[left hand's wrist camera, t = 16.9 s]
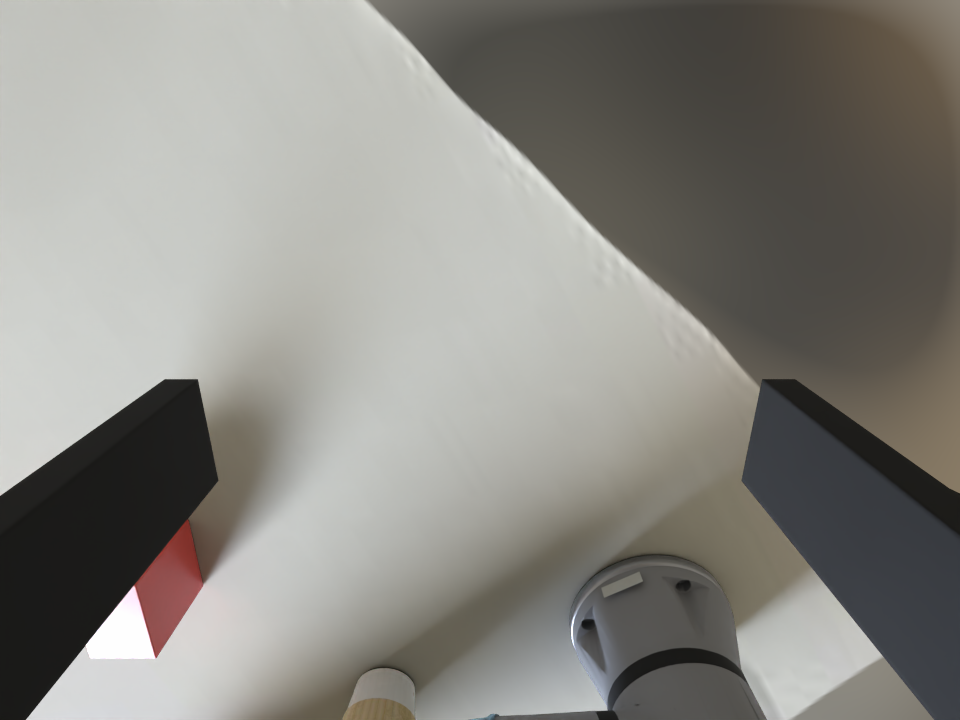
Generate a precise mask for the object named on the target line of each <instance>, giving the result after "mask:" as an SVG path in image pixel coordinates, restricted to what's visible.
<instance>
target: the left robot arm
mask: <svg viewBox="0 0 960 720" xmlns="http://www.w3.org/2000/svg"><path fill="white" fill-rule="evenodd" d="M217 482H218V476H217V471H216V466H215V461H214V457H213V452H212V447H211V442H210V437H209V432H208V427H207V422H206V417H205V412H204V408H203V403H202V398H201V393H200V388H199V383H198V379H165V380H163V381H162V382H160V383H159V384H158V385H156V386H155V387H153V388H152V389H151V390H149V391H148V392H146V393H145V394H144V395H142V396H141V397H139V398H138V399H136V400H135V401H134V402H132V403H131V404H129V405H128V406H127V407H125V408H124V409H122V410H121V411H120V412H118V413H117V414H115V415H114V416H112V417H111V418H110V419H108V420H107V421H105V422H104V423H103V424H101V425H100V426H98V427H97V428H96V429H94V430H93V431H91V432H90V433H88V434H87V435H86V436H84V437H83V438H81V439H80V440H79V441H77V442H76V443H74V444H73V445H72V446H70V447H69V448H67V449H66V450H64V451H63V452H62V453H60V454H59V455H57V456H56V457H55V458H53V459H52V460H50V461H49V462H47V463H46V464H45V465H43V466H42V467H40V468H39V469H38V470H36V471H35V472H33V473H32V474H31V475H29V476H28V477H26V478H25V479H23V480H22V481H21V482H19V483H18V484H16V485H15V486H14V487H12V488H11V489H9V490H8V491H7V492H5V493H4V494H2V495H1V496H0V720H26V719H27V718H28V716H29V715H30V714H31V713H32V711H33V710H34V709H35V708H36V706H37V705H38V704H39V703H40V701H41V700H42V699H43V698H44V696H45V695H46V694H47V693H48V691H49V690H50V689H51V688H52V686H53V685H54V684H55V683H56V682H57V680H58V679H59V678H60V677H61V675H62V674H63V673H64V672H65V670H66V669H67V668H68V667H69V665H70V664H71V663H72V662H73V660H74V659H75V658H76V657H77V655H78V654H79V653H80V652H81V651H82V649H83V648H84V647H85V646H86V644H87V643H88V642H89V641H90V639H91V638H92V637H93V636H94V634H95V633H96V632H97V631H98V629H99V628H100V627H101V626H102V624H103V623H104V622H105V621H106V620H107V618H108V617H109V616H110V615H111V613H112V612H113V611H114V610H115V608H116V607H117V606H118V605H119V603H120V602H121V601H122V600H123V598H124V597H125V596H126V595H127V593H128V592H129V591H130V590H131V588H132V587H133V586H134V585H135V584H136V582H137V581H138V580H139V579H140V577H141V576H142V575H143V574H144V572H145V571H146V570H147V569H148V567H149V566H150V565H151V564H152V562H153V561H154V560H155V559H156V557H157V556H158V555H159V554H160V553H161V551H162V550H163V549H164V548H165V546H166V545H167V544H168V543H169V541H170V540H171V539H172V538H173V536H174V535H175V534H176V533H177V531H178V530H179V529H180V528H181V526H182V525H183V524H184V523H185V522H186V520H187V519H188V518H189V517H190V515H191V514H192V513H193V512H194V510H195V509H196V508H197V507H198V505H199V504H200V503H201V502H202V500H203V499H204V498H205V497H206V495H207V494H208V493H209V492H210V490H211V489H212V488H213V487H214V486H215V484H216V483H217ZM742 482H743V483H744V484H745V486H746V487H747V488H748V489H749V490H750V492H751V493H752V494H753V495H754V497H755V498H756V499H757V500H758V502H759V503H760V504H761V505H762V507H763V508H764V509H765V510H766V512H767V513H768V514H769V515H770V517H771V518H772V519H773V520H774V522H775V523H776V524H777V525H778V526H779V528H780V529H781V530H782V531H783V533H784V534H785V535H786V536H787V538H788V539H789V540H790V541H791V543H792V544H793V545H794V546H795V548H796V549H797V550H798V551H799V553H800V554H801V555H802V556H803V557H804V559H805V560H806V561H807V562H808V564H809V565H810V566H811V567H812V569H813V570H814V571H815V572H816V574H817V575H818V576H819V577H820V579H821V580H822V581H823V582H824V584H825V585H826V586H827V587H828V588H829V590H830V591H831V592H832V593H833V595H834V596H835V597H836V598H837V600H838V601H839V602H840V603H841V605H842V606H843V607H844V608H845V610H846V611H847V612H848V613H849V615H850V616H851V617H852V618H853V620H854V621H855V622H856V623H857V624H858V626H859V627H860V628H861V629H862V631H863V632H864V633H865V634H866V636H867V637H868V638H869V639H870V641H871V642H872V643H873V644H874V646H875V647H876V648H877V649H878V651H879V652H880V653H881V654H882V655H883V657H884V658H885V659H886V660H887V662H888V663H889V664H890V665H891V667H892V668H893V669H894V670H895V672H896V673H897V674H898V675H899V677H900V678H901V679H902V680H903V682H904V683H905V684H906V685H907V686H908V688H909V689H910V690H911V691H912V693H913V694H914V695H915V696H916V698H917V699H918V700H919V701H920V703H921V704H922V705H923V706H924V707H925V709H926V710H927V711H928V713H929V714H930V715H931V716H932V718H933V719H934V720H960V493H958V492H955V491H953V490H951V489H949V488H948V487H946V486H945V485H944V484H942V483H941V482H939V481H938V480H936V479H935V478H934V477H932V476H931V475H929V474H928V473H927V472H925V471H924V470H922V469H921V468H920V467H918V466H917V465H915V464H914V463H912V462H911V461H910V460H908V459H907V458H905V457H904V456H903V455H901V454H900V453H898V452H897V451H895V450H894V449H893V448H891V447H890V446H888V445H887V444H886V443H884V442H883V441H881V440H880V439H879V438H877V437H876V436H874V435H873V434H872V433H870V432H869V431H867V430H866V429H864V428H863V427H862V426H860V425H859V424H857V423H856V422H855V421H853V420H852V419H850V418H849V417H847V416H846V415H845V414H843V413H842V412H840V411H839V410H838V409H836V408H835V407H833V406H832V405H831V404H829V403H828V402H826V401H825V400H824V399H822V398H821V397H819V396H818V395H816V394H815V393H814V392H812V391H811V390H809V389H808V388H807V387H805V386H804V385H802V384H801V383H800V382H798V381H797V380H795V379H763V380H762V383H761V388H760V393H759V398H758V403H757V408H756V412H755V417H754V422H753V427H752V432H751V437H750V442H749V447H748V452H747V457H746V461H745V466H744V471H743V476H742ZM570 631H571V636H572V641H573V645H574V648H575V650H576V653H577V656H578V658H579V660H580V662H581V664H582V665H583V667H584V669H585V670H586V672H587V674H588V675H589V677H590V679H591V680H592V682H593V683H594V685H595V687H596V688H597V690H598V692H599V693H600V695H601V697H602V698H603V700H604V702H605V703H606V705H607V709H608V711H587V712H570V713H554V714H538V715H515V716H499V715H498V714H491V715H489V716H488V717H485V718H478V719H470V720H767V719H766V717H765V715H764V713H763V711H762V709H761V708H760V706H759V704H758V702H757V700H756V698H755V696H754V694H753V692H752V690H751V688H750V687H749V685H748V683H747V681H746V679H745V677H744V674H743V672H742V670H741V665H740V658H739V651H738V644H737V637H736V630H735V623H734V617H733V613H732V610H731V607H730V604H729V602H728V599H727V597H726V596H725V594H724V592H723V590H722V588H721V587H720V585H719V583H718V582H717V581H716V579H715V578H714V577H713V576H712V575H711V574H710V573H709V572H707V571H706V570H705V569H703V568H702V567H700V566H699V565H697V564H695V563H693V562H690V561H688V560H685V559H681V558H677V557H672V556H664V555H649V556H640V557H635V558H630V559H627V560H624V561H621V562H618V563H616V564H613V565H611V566H609V567H607V568H606V569H604V570H602V571H601V572H599V573H598V574H596V575H595V576H594V577H593V578H591V579H590V580H589V581H588V582H587V583H586V584H585V585H584V586H583V588H582V589H581V590H580V592H579V593H578V595H577V596H576V598H575V600H574V602H573V605H572V608H571V612H570Z"/></svg>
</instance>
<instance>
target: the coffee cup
mask: <svg viewBox="0 0 960 720" xmlns="http://www.w3.org/2000/svg"><path fill="white" fill-rule="evenodd" d="M342 720H415V686H414V684H413V682H412V680H411V679H410V678H409V677H408V676H407V675H405V674H404V673H402V672H400V671H398V670H394V669H390V668H378V669H373V670H370V671H368V672H366V673H364V674H363V675H362V676H361V677H360V678H359V679H358V681H357V684H356V687H355V689H354V692H353V695H352V698H351V701H350V703H349V706H348V709H347V711H346V712H345V714H344V716H343V719H342Z"/></svg>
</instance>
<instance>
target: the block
mask: <svg viewBox="0 0 960 720" xmlns="http://www.w3.org/2000/svg"><path fill="white" fill-rule="evenodd" d="M202 587H203V582H202V578H201V573H200V569H199V565H198V560H197V556H196V551H195V547H194V542H193V538H192V533H191V529H190V525H189V520H186V522H185V523H184V524H183V525H182V526H181V528H180V529H179V530H178V531H177V533H176V534H175V535H174V536H173V538H172V539H171V540H170V541H169V543H168V544H167V545H166V546H165V548H164V549H163V550H162V551H161V553H160V554H159V555H158V556H157V557H156V559H155V560H154V561H153V562H152V564H151V565H150V566H149V567H148V569H147V570H146V571H145V572H144V574H143V575H142V576H141V577H140V579H139V580H138V581H137V582H136V584H135V585H134V586H133V587H132V588H131V590H130V591H129V592H128V593H127V595H126V596H125V597H124V598H123V600H122V601H121V602H120V603H119V605H118V606H117V607H116V608H115V610H114V611H113V612H112V613H111V615H110V616H109V617H108V618H107V620H106V621H105V622H104V623H103V624H102V626H101V627H100V628H99V629H98V631H97V632H96V633H95V634H94V636H93V637H92V638H91V639H90V641H89V642H88V643H87V644H86V648H87V651H88V654H89V657H90V658H157V656H158V655H159V653H160V651H161V650H162V648H163V647H164V645H165V644H166V642H167V641H168V639H169V638H170V636H171V635H172V633H173V631H174V630H175V628H176V627H177V625H178V624H179V622H180V621H181V619H182V618H183V616H184V614H185V613H186V611H187V610H188V608H189V607H190V605H191V604H192V602H193V601H194V599H195V597H196V596H197V594H198V593H199V591H200V590H201V588H202Z"/></svg>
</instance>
